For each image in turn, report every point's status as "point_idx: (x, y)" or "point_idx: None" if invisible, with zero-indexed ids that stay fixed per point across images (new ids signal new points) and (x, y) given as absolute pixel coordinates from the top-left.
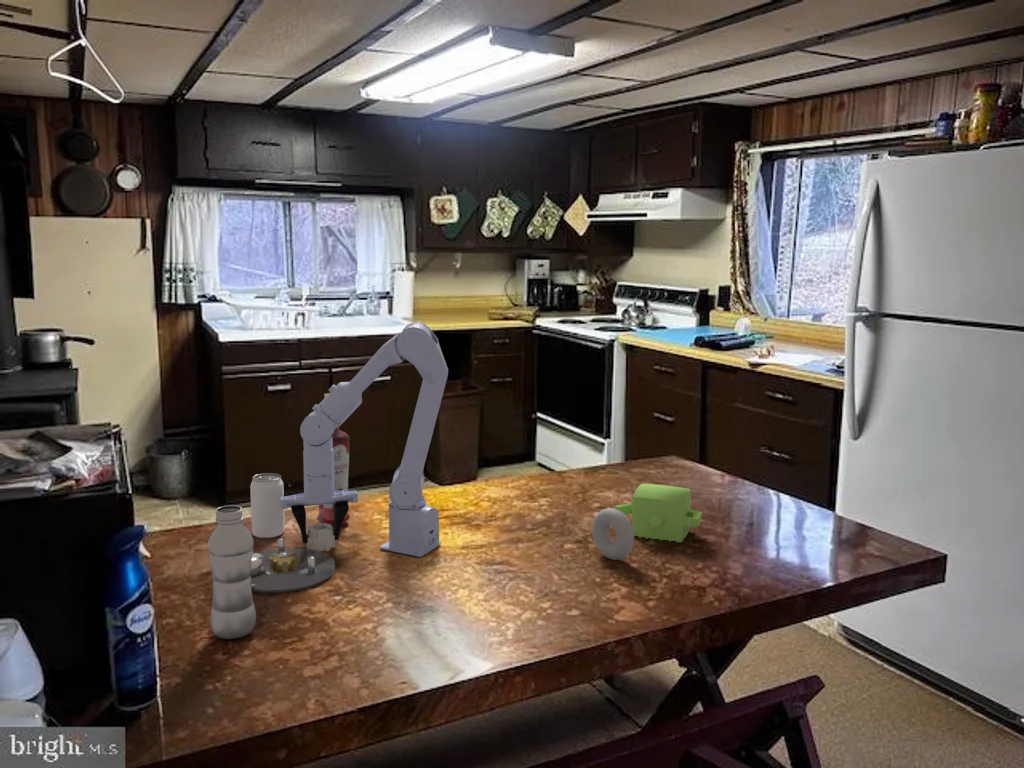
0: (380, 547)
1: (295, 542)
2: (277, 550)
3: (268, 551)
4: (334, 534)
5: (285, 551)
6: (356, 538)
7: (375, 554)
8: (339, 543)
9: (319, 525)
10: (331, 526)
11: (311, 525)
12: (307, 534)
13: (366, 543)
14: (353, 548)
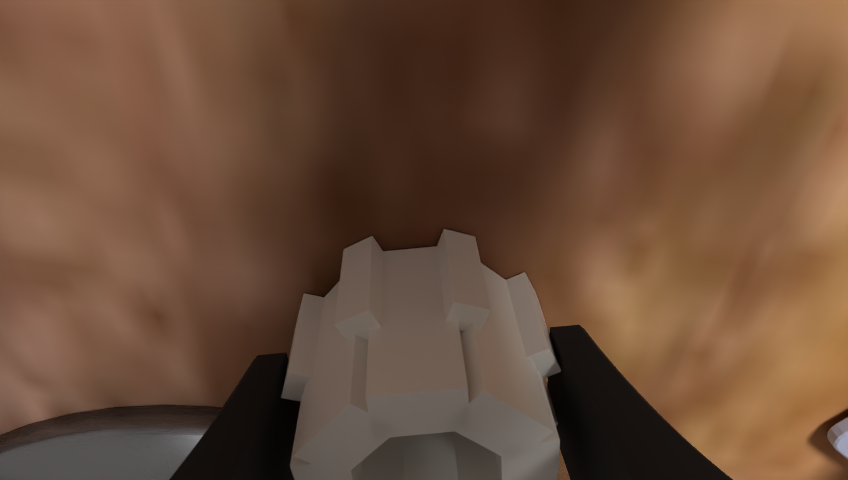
0: (832, 443)
1: (178, 202)
2: (84, 454)
3: (16, 462)
4: (557, 397)
5: (155, 476)
6: (761, 203)
7: (756, 474)
8: (581, 286)
9: (422, 432)
10: (549, 475)
11: (328, 434)
12: (295, 383)
13: (789, 318)
14: (658, 384)
